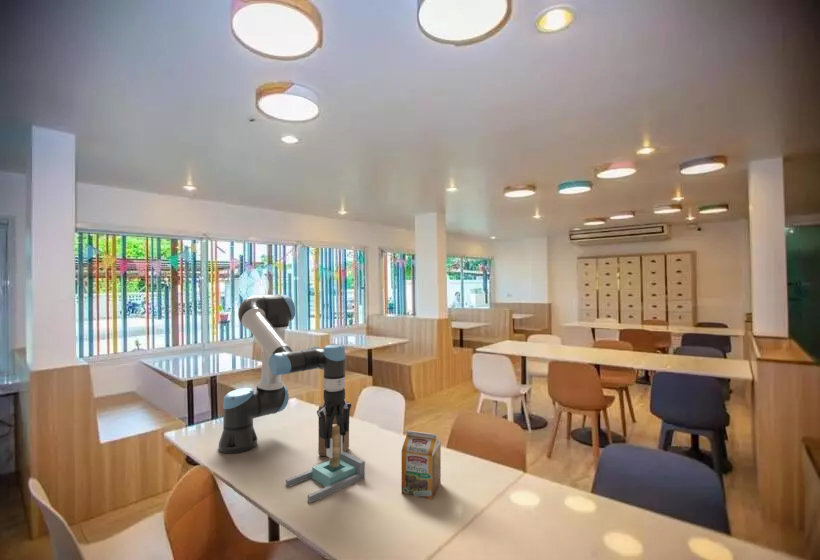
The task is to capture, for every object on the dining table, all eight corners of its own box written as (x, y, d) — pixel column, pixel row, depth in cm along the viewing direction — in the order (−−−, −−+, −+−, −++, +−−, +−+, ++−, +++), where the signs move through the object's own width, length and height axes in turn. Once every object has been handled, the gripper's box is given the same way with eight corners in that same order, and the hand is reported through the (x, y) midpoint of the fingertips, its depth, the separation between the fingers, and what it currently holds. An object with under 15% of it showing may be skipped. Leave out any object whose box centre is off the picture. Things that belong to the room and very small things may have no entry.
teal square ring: (312, 478, 141) (312, 467, 141) (337, 467, 148) (337, 457, 148) (330, 489, 133) (330, 477, 133) (356, 478, 141) (356, 466, 141)
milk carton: (440, 483, 137) (440, 428, 137) (432, 499, 127) (432, 440, 127) (411, 478, 140) (411, 425, 141) (401, 493, 130) (401, 436, 131)
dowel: (327, 465, 141) (327, 426, 141) (335, 462, 143) (335, 423, 143) (333, 468, 138) (333, 428, 138) (341, 465, 141) (341, 425, 141)
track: (285, 485, 136) (285, 467, 136) (338, 464, 151) (338, 448, 151) (310, 503, 125) (310, 484, 125) (364, 478, 141) (364, 461, 141)
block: (341, 458, 156) (341, 408, 156) (317, 456, 158) (317, 406, 158) (349, 448, 166) (349, 400, 166) (327, 446, 168) (327, 399, 168)
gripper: (320, 395, 132) (320, 465, 132) (359, 386, 144) (359, 450, 144) (308, 391, 137) (308, 458, 137) (347, 382, 149) (347, 444, 149)
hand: (334, 454), depth 141 cm, fingers closed on dowel, 3 cm apart
